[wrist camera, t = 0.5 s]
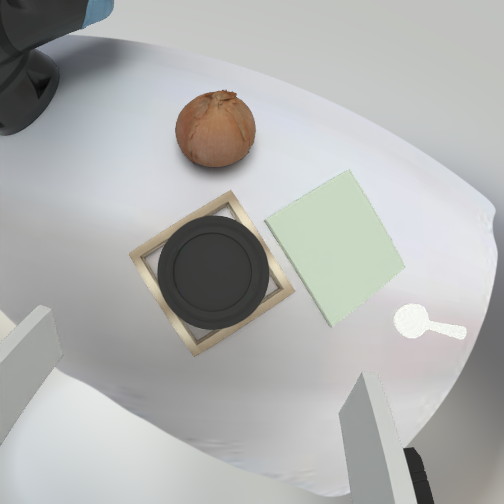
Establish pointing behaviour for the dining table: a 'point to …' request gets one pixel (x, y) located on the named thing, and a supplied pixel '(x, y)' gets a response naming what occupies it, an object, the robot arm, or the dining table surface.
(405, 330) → the spoon
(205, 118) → the onion
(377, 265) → the mat
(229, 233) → the coffee cup
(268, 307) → the picture frame
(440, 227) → the dining table surface
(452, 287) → the dining table surface
